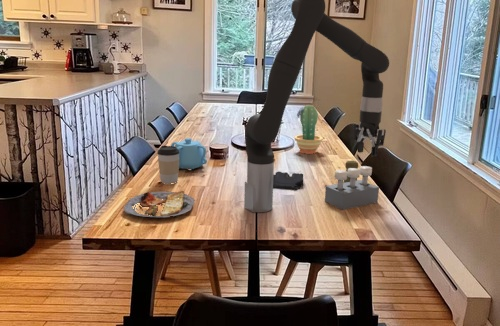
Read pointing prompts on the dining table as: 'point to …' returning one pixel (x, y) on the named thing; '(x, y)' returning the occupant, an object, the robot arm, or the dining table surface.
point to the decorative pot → (190, 154)
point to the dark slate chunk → (287, 181)
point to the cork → (350, 165)
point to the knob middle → (353, 176)
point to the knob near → (340, 178)
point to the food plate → (173, 203)
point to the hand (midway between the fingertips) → (367, 154)
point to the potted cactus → (308, 130)
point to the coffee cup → (168, 164)
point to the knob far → (365, 174)
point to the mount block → (351, 195)
